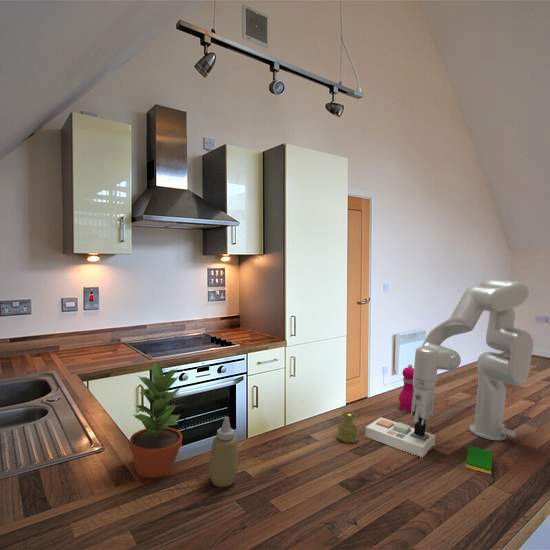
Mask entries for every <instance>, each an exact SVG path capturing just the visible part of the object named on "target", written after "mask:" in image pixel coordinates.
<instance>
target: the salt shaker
mask: <svg viewBox="0 0 550 550" xmlns="http://www.w3.org/2000/svg"><path fill="white" fill-rule="evenodd" d="M341 414H342V417H344V420H342V421H341V422H339V423H338V424H337V431H336V433H337V434H336V438H337V439H338V440H339V441H341V442H343V443H348V444H353V443H357V442H358V439H359V430H360V429H359V426H358V425H357V424H356V423H355V422H354V421H353V420H354V419H355V418H357V414H356V413H355V412H353V410H350V409H349V410H345V411H342V413H341Z"/></svg>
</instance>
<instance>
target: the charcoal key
mask: <svg viewBox="0 0 550 550" xmlns="http://www.w3.org/2000/svg"><path fill="white" fill-rule="evenodd" d="M411 437H414V438H417V439H420V440H423V441H425V440H427V439H428V434H425V435H424V436H420V435H417V434H415V433H414V432H413V433H412V434H411Z"/></svg>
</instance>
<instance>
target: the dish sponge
mask: <svg viewBox="0 0 550 550" xmlns="http://www.w3.org/2000/svg"><path fill="white" fill-rule="evenodd" d="M466 455H467V456H466V461H465V468H466V467H468V468H471V469H474V470H478V471H481V472H486V473H490V474H491V475H492V468H493V452H492V451H490V450H486V449H482V448H479V447H474V446H472V445H471V446H470V445H469V446H468V450H467V454H466Z"/></svg>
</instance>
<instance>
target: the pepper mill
mask: <svg viewBox="0 0 550 550" xmlns="http://www.w3.org/2000/svg"><path fill="white" fill-rule="evenodd" d="M413 374H414V367H413V365H412V364H411V363H409V364H407V367H404V368H403V370H402V376H403V378H402V381H403V387H402V390H401V391H400V393H399V395H398V400H399V402H400V403H398V405H399V406H398V408H399V409H400V410H401V409H403V410H406V411H405V412H408V411H411V408H412V399H413V393H414V387H413ZM403 410H402V411H403Z"/></svg>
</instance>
